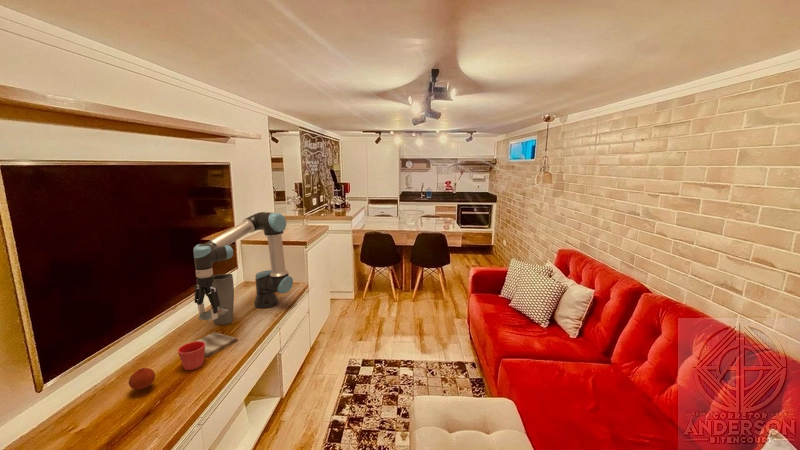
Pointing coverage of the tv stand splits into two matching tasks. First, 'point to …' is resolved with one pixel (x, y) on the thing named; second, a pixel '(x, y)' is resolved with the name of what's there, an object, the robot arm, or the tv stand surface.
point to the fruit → (142, 378)
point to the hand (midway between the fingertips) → (208, 317)
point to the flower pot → (192, 355)
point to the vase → (224, 297)
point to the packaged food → (208, 315)
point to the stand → (216, 343)
